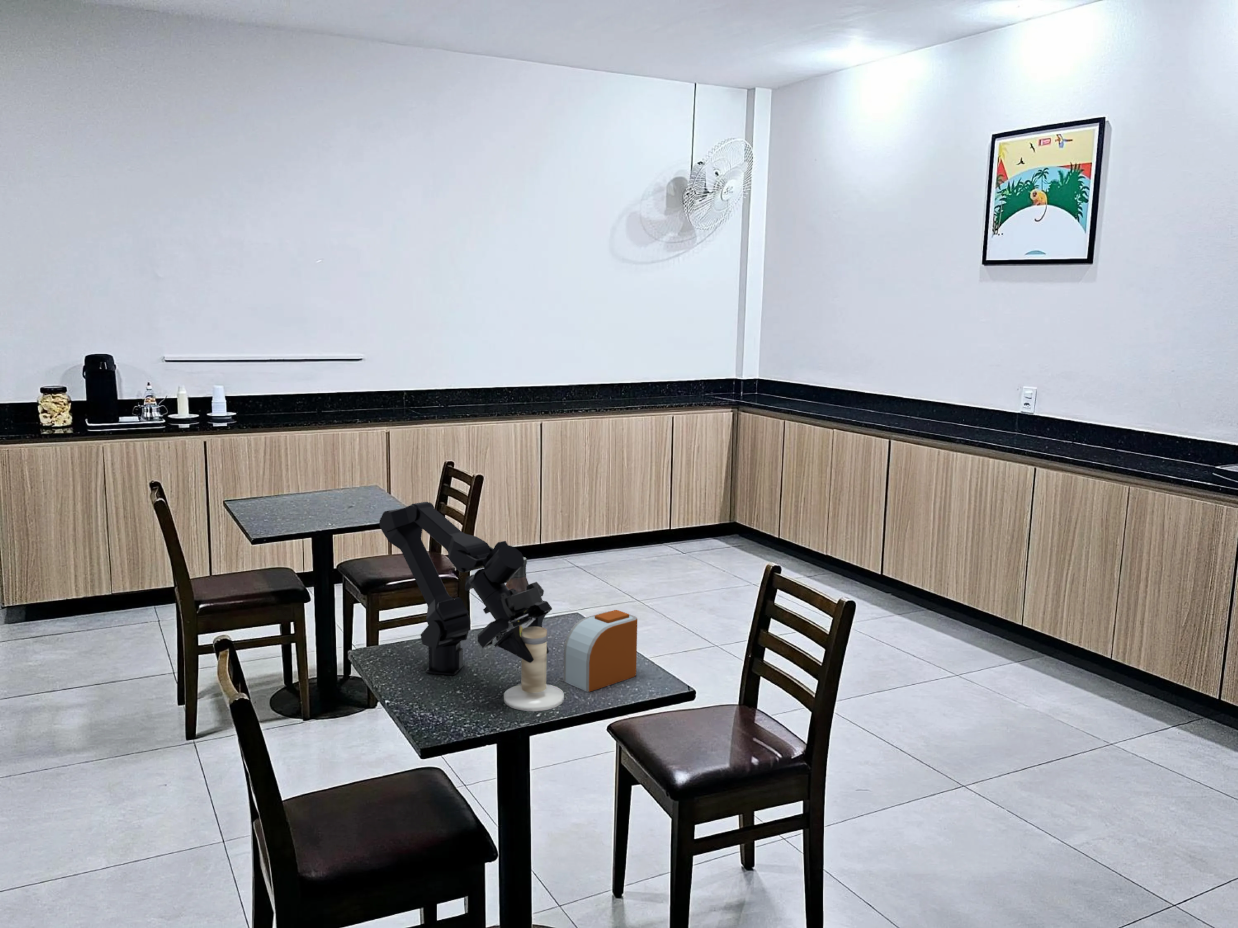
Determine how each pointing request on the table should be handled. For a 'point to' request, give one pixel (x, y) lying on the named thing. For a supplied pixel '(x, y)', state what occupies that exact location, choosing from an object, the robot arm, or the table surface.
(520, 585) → the sauce bottle
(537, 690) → the beech handle
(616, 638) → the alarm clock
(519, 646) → the robot arm
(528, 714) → the table surface
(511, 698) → the ceramic plate
